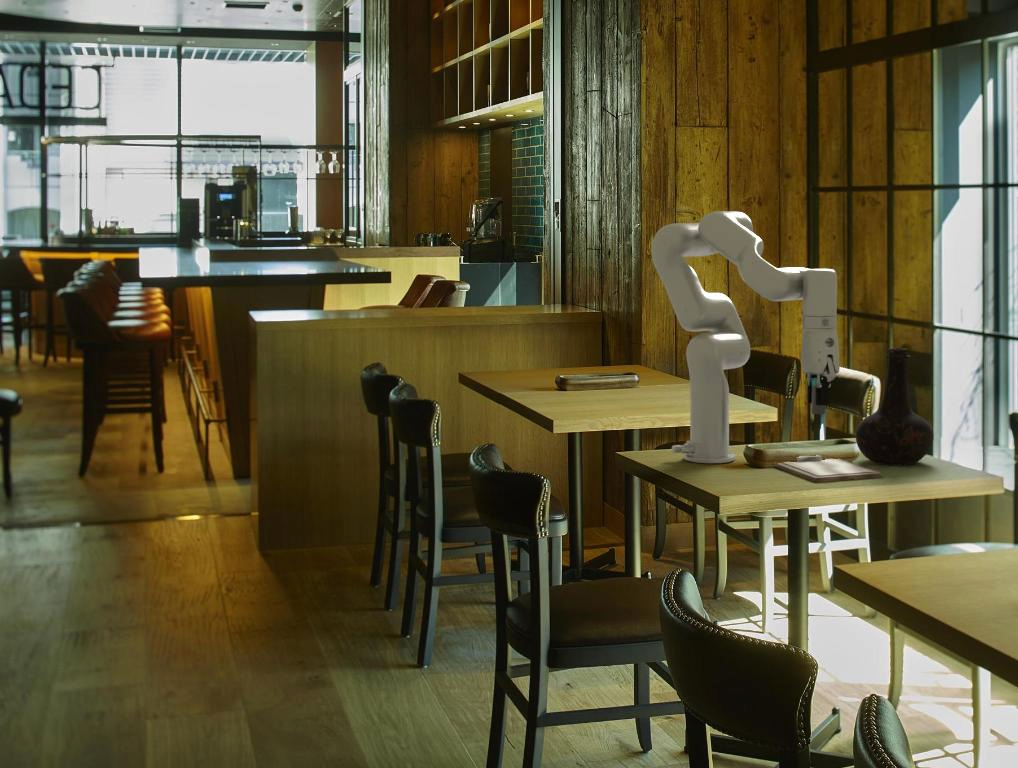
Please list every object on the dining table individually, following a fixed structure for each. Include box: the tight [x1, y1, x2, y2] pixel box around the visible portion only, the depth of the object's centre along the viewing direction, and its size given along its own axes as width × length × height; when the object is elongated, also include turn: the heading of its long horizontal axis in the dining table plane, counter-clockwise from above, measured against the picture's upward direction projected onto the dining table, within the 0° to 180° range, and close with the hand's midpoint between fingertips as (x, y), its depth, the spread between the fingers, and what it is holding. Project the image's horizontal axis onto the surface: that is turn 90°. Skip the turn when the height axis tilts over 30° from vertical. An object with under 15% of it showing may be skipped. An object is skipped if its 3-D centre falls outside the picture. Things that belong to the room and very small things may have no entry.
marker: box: [811, 377, 826, 415], centre depth 287 cm, size 3×3×8 cm
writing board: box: [777, 454, 883, 483], centre depth 296 cm, size 17×20×2 cm
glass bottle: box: [855, 347, 934, 466], centre depth 305 cm, size 18×18×28 cm
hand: (818, 403), depth 288 cm, fingers closed on marker, 2 cm apart
